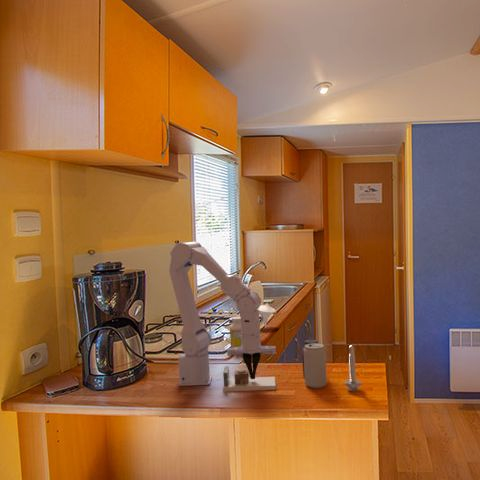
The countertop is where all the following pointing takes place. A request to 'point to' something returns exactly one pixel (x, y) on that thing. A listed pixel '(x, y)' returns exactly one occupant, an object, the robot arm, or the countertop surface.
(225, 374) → the brushed steel block
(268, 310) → the mushroom
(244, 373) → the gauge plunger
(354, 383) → the screw
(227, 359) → the countertop surface
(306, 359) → the beverage can
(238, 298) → the robot arm
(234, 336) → the supplement bottle
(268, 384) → the gauge track
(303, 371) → the supplement bottle
